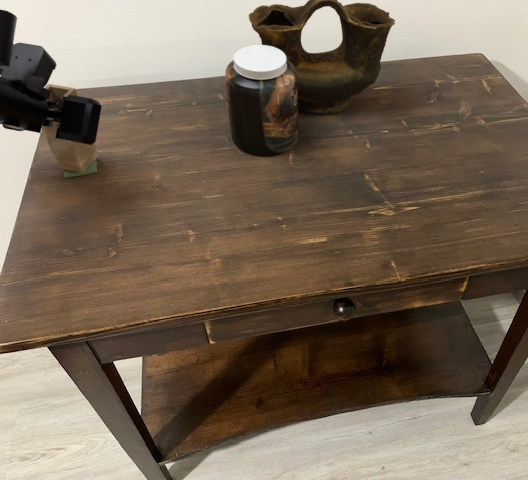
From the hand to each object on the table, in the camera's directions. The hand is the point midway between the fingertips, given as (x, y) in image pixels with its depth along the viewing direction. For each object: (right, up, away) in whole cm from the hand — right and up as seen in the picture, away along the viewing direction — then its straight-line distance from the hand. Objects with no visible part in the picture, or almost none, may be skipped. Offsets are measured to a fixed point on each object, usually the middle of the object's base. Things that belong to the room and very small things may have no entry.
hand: (70, 123), depth 83 cm
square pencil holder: (-1, -5, +4) cm, 7 cm away
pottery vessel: (+39, +8, +20) cm, 44 cm away
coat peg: (-1, -6, +5) cm, 8 cm away
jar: (+29, 0, +12) cm, 31 cm away
